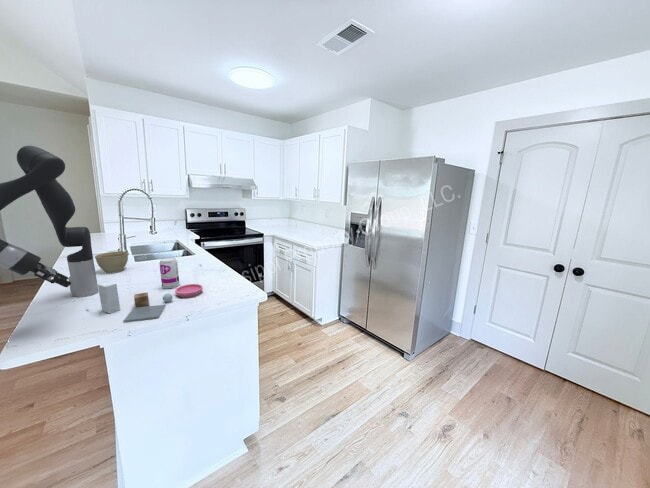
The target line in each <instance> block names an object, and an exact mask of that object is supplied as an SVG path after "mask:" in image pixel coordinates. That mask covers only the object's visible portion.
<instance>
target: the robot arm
mask: <svg viewBox="0 0 650 488" xmlns="http://www.w3.org/2000/svg"><path fill="white" fill-rule="evenodd" d="M16 161H17V164H18V165H19V167H20V169H21V170H22V171H23V173H24V175H23V176H20V177H18V178H16V179H13V180H9V181H5V182H0V212H1V211H2V210H3V209H5V208H6V207H7V206H8V205H11V204H12V203H13V202H14V201H16V200H18V199H20V198H22V197H23V196H25V195H27V194H29V193H31V192H33V191H35V194H36V195H37V196H38V198H39V200H40V204H41V205H42V207H43V209H44V211H45V213H46V214H47V216H48V218H49V220H50V222H51V224H52V225H53V229H54V230H55V233H56V234H55V235H56V236H57V239H58V242H59V243H60V245H61V246H63V247H65V248H72V247H73V248H75V247H81V249H80V250H78V251H76V252H73V253H70V254H68V255H67V256H66V261H67V264H68V265H67V266H68V272H69V277H68V276H66V275H65V274H62V273H59V272H58V270H56V269H55V268H52V267H50V266H48V265H46V264H44V263H42V262H41V259H42V258H41V257H40V256H38V255H36V254H34V253H32V252H30V251H28V250H26V249H25V248H22V247H20V246H17V245H14V244H11V243H9V242H7V241H5V240H3V239H2V238H0V267H2V268H4V269H6V270H8V271H11V272H14V273H16V274H18V275H20V276H24V275H27V274H28V273H29V272H32V273H33V275H34V276H35V277H38V278H40V279H42V280H44V281H46V282H49V283H51V284H57V285H59V286H61V287H64V288H68V287H69V290H70V295H71V297H76V298H80V297H81V298H82V297H88V296H93V295H95V294H97V293H99V288H98V279H97V273H96V267H95V261H94V255H93V250H92V249H93V248H92V238H91V237H92V236H91V231H90V229H89V227H86V226H74V227H71V226H70V227H69V226H67V224H68V222H69V221H70V220H71V219H72V218H73V216H74V215H75V213H76V206H75V203H74V201H73V199H72V196H71V195H70V194H69V192H68V191H67V190H66V189H65V188H64V187H63V185H62V184H61V183H60V182H59V181H58V180H57V178H59V177H60V176H61V175H63V174H64V171H66V163H65V162H64V160H63V159H61V158H60V157H59V156H57V155H55V154H53V153H50V151H47V150H45V149H44V148H43V149H42V148H40V147H38V146H34V145H25V146H22V147H20V148H19V149H18V151H17V153H16Z"/></svg>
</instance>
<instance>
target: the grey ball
mask: <svg viewBox="0 0 650 488" xmlns="http://www.w3.org/2000/svg"><path fill="white" fill-rule="evenodd" d="M173 297H174V296H173V295H172V294H171V293H165V294H164V295H163V296H162V301H163V302H164V303H170V302H172V300H173Z"/></svg>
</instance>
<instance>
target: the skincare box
mask: <svg viewBox="0 0 650 488" xmlns="http://www.w3.org/2000/svg"><path fill="white" fill-rule="evenodd" d="M97 284H98V283H97ZM118 291H119V290H118V285H117V283H114V282H111V281H106V282H103V283H99V284H98V294H99V300H100V301H99V302H100V307H101V311H102V312H105V313H108V314H112V313H115V312H118V311H120V310H121V305H120V298H119V293H118Z"/></svg>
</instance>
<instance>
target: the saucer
mask: <svg viewBox="0 0 650 488" xmlns="http://www.w3.org/2000/svg"><path fill="white" fill-rule="evenodd" d="M203 288H204V287H203V285H201V284H199V283H188V284H182V285H179V286H177V287H175V290H174V292H175V294H176V295H177V296H179V297H180V298H192V297H195V296H198V295H199V294H200V293H201V292H202V291H203Z"/></svg>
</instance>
